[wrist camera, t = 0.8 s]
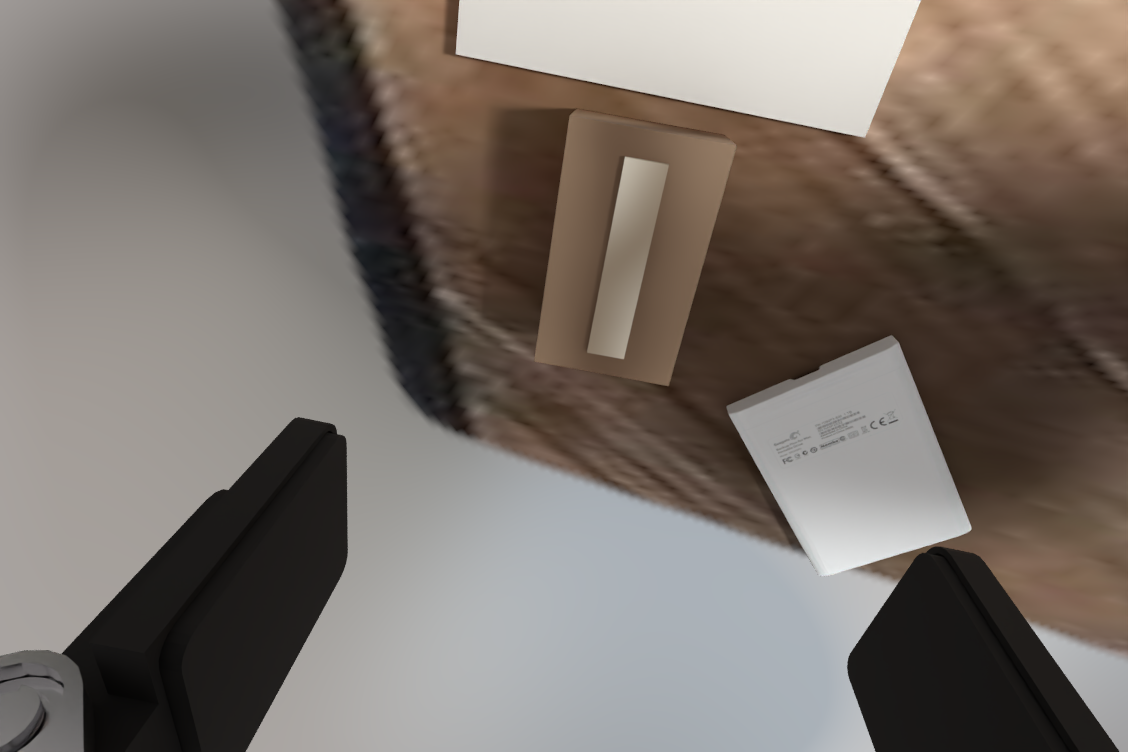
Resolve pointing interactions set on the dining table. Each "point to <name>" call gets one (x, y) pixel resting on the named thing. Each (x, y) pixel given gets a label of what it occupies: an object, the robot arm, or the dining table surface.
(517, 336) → the dining table surface
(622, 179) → the slotted tan block
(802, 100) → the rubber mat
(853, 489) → the external hard drive
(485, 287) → the dining table surface
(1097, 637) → the dining table surface
